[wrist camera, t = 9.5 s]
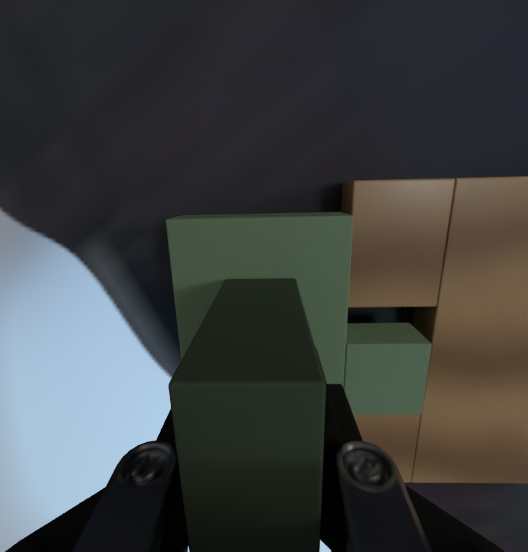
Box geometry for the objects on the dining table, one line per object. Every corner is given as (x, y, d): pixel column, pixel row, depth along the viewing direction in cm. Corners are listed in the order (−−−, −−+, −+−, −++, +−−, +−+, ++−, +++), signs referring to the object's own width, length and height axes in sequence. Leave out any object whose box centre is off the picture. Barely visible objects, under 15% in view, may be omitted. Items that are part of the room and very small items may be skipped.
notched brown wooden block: (341, 182, 12) (353, 180, 10) (642, 174, 12) (705, 171, 10) (329, 451, 16) (335, 482, 14) (555, 452, 16) (591, 484, 14)
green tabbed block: (181, 215, 11) (14, 254, 4) (422, 210, 11) (723, 242, 4) (205, 465, 14) (138, 740, 7) (392, 466, 14) (518, 752, 7)
